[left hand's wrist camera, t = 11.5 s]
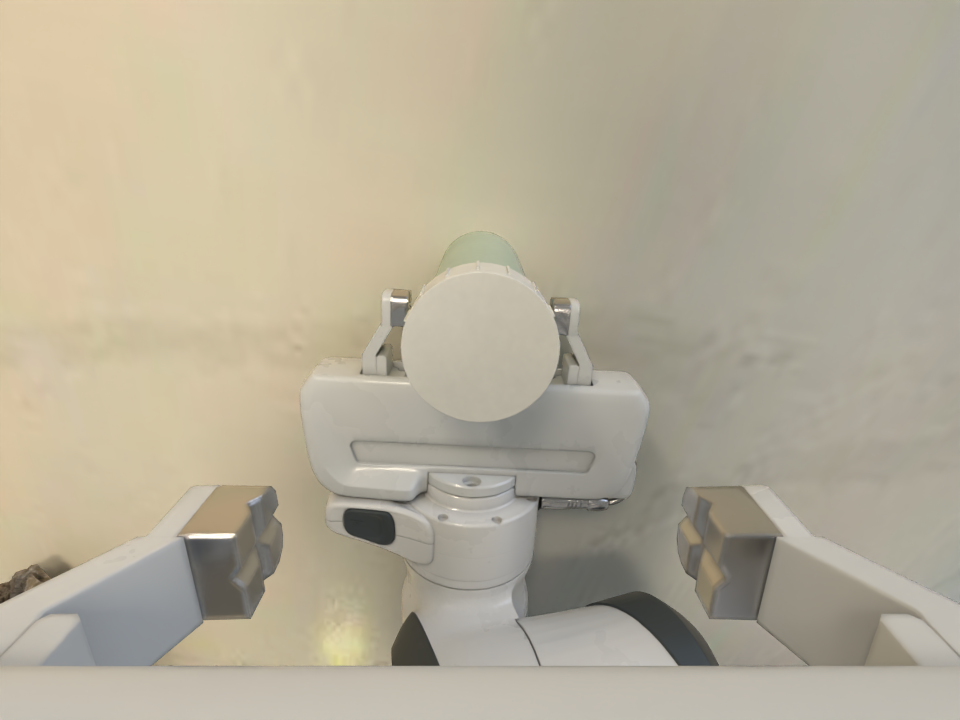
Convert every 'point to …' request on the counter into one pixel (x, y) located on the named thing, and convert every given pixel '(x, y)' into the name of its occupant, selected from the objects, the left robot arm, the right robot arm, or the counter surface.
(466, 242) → the jar
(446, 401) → the lid
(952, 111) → the counter surface
